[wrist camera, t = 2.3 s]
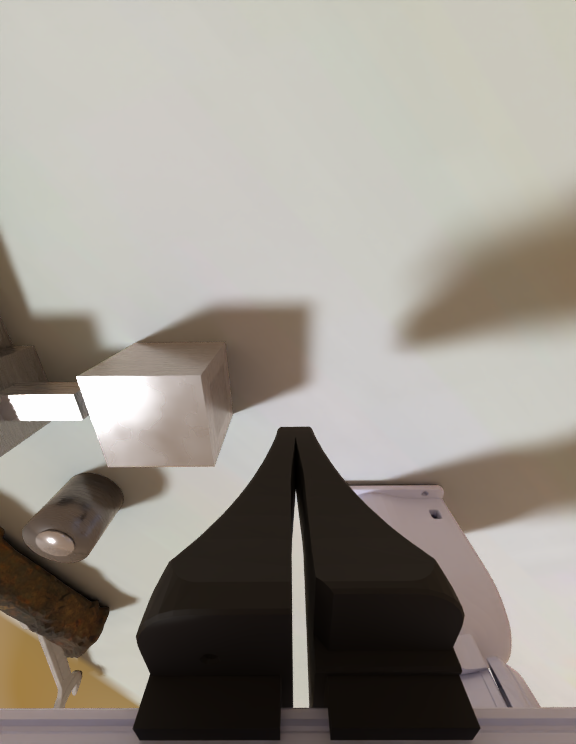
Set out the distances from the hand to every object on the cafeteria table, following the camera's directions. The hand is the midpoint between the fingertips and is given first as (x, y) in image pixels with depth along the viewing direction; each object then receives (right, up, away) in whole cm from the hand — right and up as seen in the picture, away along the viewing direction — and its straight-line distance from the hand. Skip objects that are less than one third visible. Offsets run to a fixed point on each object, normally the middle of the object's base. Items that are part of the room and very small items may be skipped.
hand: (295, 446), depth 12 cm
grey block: (-7, +3, +7) cm, 10 cm away
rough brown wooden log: (-25, -14, +14) cm, 32 cm away
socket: (-16, -7, +11) cm, 20 cm away
